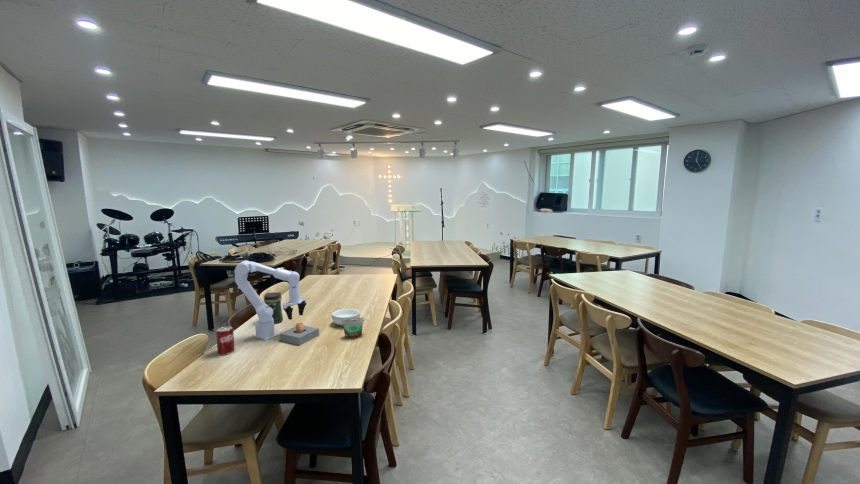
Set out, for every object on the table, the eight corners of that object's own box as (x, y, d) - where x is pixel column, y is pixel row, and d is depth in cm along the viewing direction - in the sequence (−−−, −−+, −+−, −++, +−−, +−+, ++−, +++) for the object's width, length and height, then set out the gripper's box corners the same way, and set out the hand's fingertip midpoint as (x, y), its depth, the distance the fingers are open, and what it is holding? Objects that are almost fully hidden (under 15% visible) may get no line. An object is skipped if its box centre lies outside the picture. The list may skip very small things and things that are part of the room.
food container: (344, 340, 175) (344, 322, 174) (342, 336, 180) (341, 319, 179) (367, 336, 181) (366, 319, 180) (364, 332, 186) (363, 315, 185)
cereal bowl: (366, 322, 203) (365, 311, 202) (345, 331, 189) (345, 319, 188) (346, 317, 212) (346, 306, 211) (326, 325, 198) (325, 313, 197)
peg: (294, 338, 178) (293, 324, 177) (300, 336, 181) (299, 322, 180) (300, 340, 176) (299, 325, 175) (305, 337, 180) (305, 323, 179)
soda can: (238, 350, 164) (236, 327, 162) (224, 356, 157) (223, 332, 156) (227, 348, 166) (225, 325, 165) (213, 354, 159) (212, 330, 158)
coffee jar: (284, 319, 208) (283, 290, 206) (280, 323, 200) (278, 294, 198) (268, 319, 207) (266, 291, 205) (263, 324, 199) (262, 294, 197)
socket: (280, 340, 175) (279, 333, 175) (300, 331, 188) (300, 324, 187) (299, 345, 169) (299, 337, 169) (319, 335, 182) (318, 328, 182)
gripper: (289, 297, 175) (290, 322, 176) (309, 291, 188) (310, 314, 189) (279, 296, 178) (281, 320, 179) (300, 290, 191) (301, 312, 192)
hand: (295, 317), depth 184 cm, fingers open, 7 cm apart
